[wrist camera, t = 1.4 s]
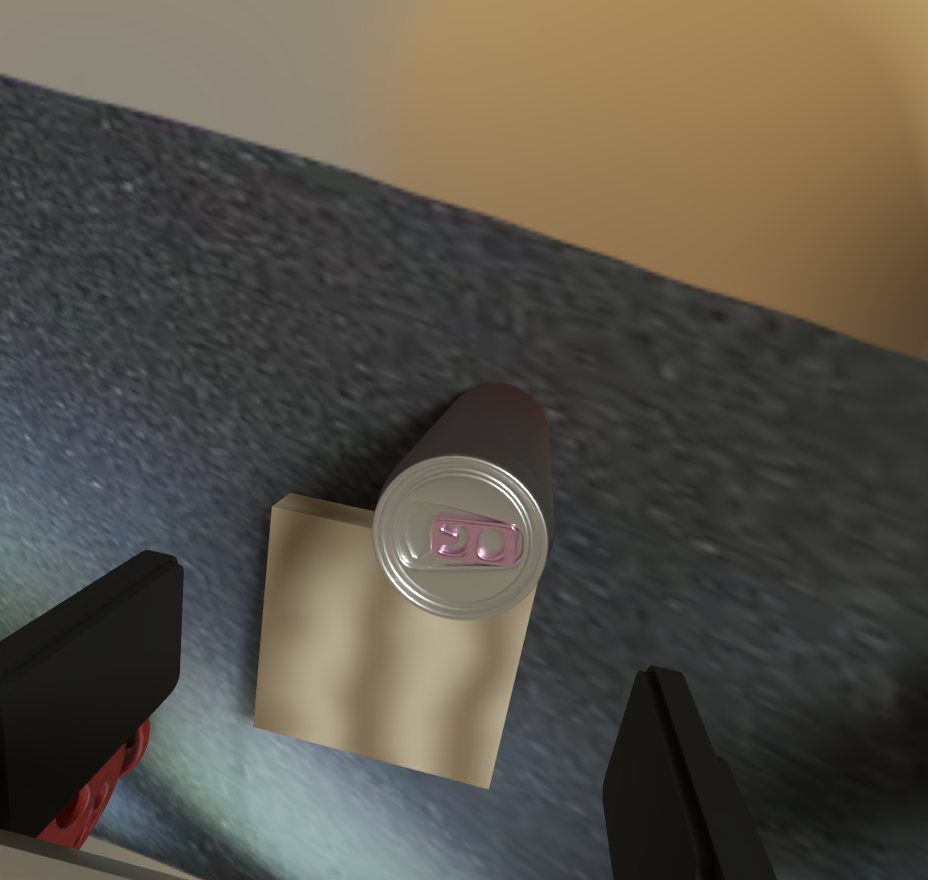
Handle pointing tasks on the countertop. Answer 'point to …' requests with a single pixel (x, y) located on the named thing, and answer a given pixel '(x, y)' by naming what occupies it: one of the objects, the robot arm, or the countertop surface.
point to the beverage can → (470, 508)
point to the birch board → (376, 653)
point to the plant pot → (95, 794)
